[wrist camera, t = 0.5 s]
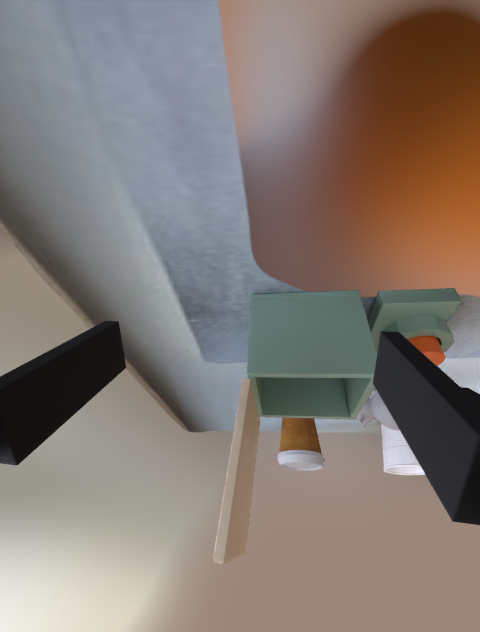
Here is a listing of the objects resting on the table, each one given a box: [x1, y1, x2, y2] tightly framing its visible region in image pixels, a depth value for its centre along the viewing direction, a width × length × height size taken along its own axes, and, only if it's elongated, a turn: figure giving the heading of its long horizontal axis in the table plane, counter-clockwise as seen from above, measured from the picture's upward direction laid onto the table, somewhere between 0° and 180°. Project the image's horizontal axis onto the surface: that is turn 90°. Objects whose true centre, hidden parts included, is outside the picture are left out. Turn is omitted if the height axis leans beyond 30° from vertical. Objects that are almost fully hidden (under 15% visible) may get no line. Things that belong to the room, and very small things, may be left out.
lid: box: [213, 378, 260, 564], centre depth 27 cm, size 14×13×1 cm
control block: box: [367, 288, 462, 353], centre depth 34 cm, size 12×9×4 cm
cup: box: [381, 424, 425, 475], centre depth 58 cm, size 10×10×11 cm
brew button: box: [407, 336, 445, 366], centre depth 32 cm, size 4×4×2 cm
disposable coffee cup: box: [277, 418, 325, 471], centre depth 58 cm, size 10×10×12 cm
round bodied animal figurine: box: [357, 388, 399, 430], centre depth 46 cm, size 7×12×8 cm, turn 116°
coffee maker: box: [247, 290, 377, 419], centre depth 34 cm, size 13×13×11 cm
